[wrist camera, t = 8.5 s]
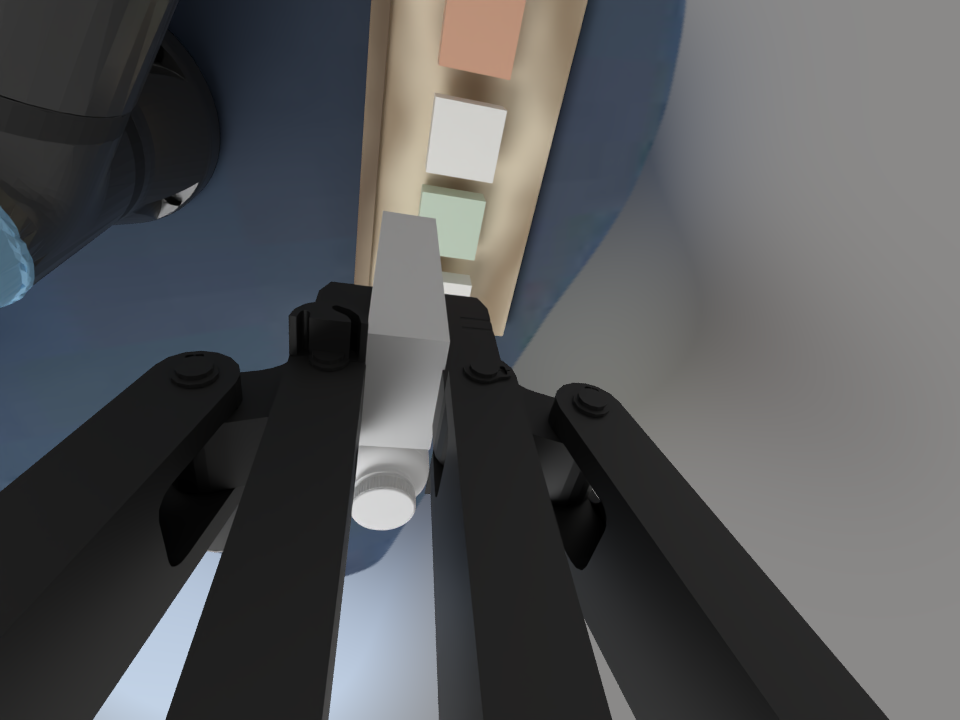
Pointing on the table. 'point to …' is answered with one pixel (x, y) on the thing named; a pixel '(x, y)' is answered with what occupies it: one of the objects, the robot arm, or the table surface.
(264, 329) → the table surface
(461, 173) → the white key
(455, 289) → the white key
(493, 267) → the keypad board
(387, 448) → the pill bottle
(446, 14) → the key terracotta
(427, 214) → the key sage
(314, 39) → the table surface
